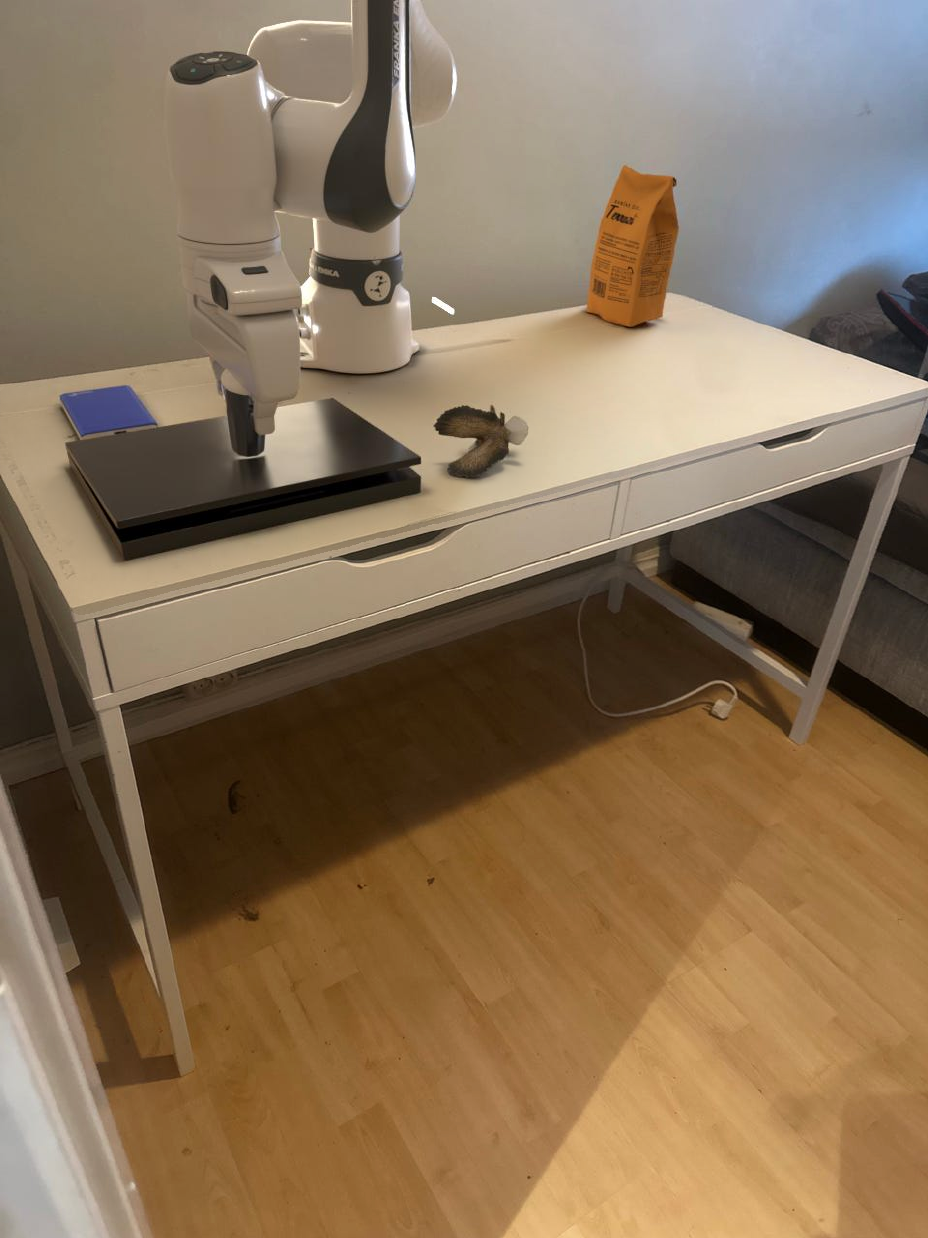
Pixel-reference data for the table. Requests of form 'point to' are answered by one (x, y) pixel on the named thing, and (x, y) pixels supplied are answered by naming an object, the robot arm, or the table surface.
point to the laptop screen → (231, 462)
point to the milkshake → (240, 417)
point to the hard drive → (106, 412)
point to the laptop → (251, 512)
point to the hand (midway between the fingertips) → (245, 413)
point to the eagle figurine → (480, 437)
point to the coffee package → (634, 249)
